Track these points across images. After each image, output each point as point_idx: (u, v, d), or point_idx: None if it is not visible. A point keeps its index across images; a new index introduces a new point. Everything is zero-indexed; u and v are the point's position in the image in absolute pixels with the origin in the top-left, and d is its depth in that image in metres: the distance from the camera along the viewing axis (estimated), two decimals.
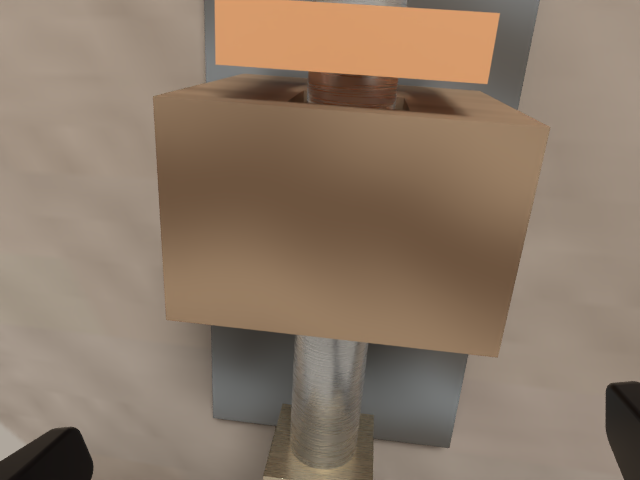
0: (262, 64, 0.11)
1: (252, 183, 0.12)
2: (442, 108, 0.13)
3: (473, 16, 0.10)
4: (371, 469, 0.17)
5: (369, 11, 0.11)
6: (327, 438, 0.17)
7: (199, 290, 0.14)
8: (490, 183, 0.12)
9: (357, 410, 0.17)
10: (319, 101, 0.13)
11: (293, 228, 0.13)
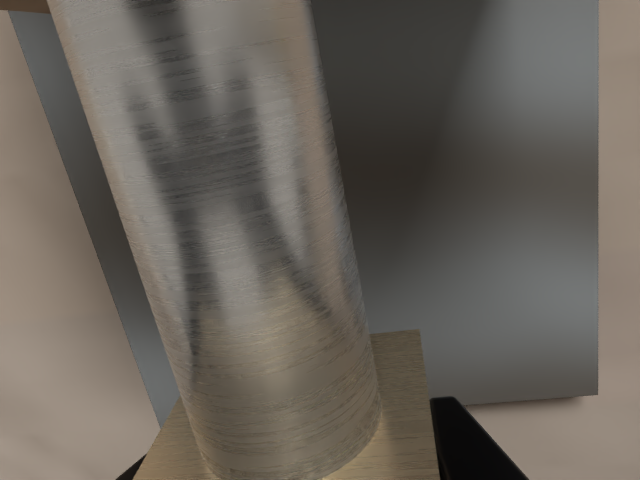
0: None
1: None
2: None
3: None
4: (432, 461, 0.05)
5: None
6: (260, 385, 0.05)
7: None
8: None
9: (341, 281, 0.05)
10: None
11: None
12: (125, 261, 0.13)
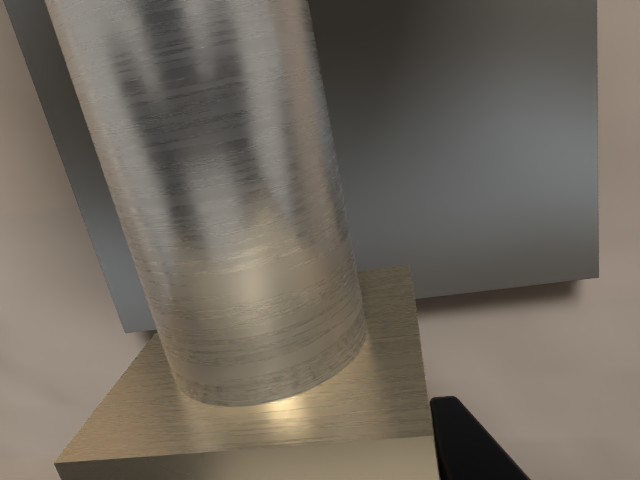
0: None
1: None
2: None
3: None
4: (419, 373, 0.05)
5: None
6: (231, 284, 0.05)
7: None
8: None
9: (319, 176, 0.05)
10: None
11: None
12: (80, 134, 0.12)
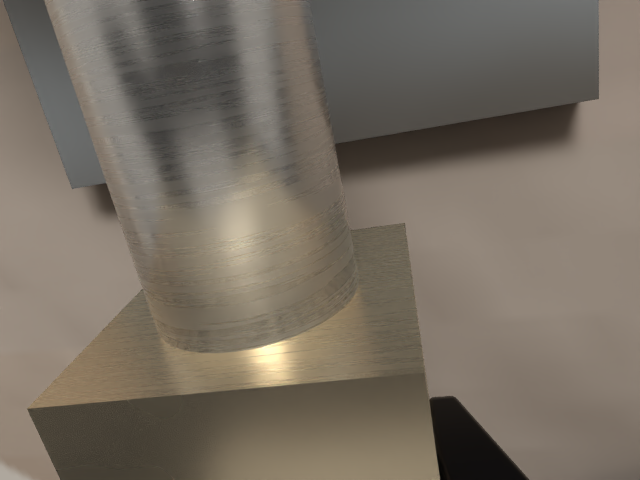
0: None
1: None
2: None
3: None
4: (412, 317, 0.05)
5: None
6: (214, 218, 0.04)
7: None
8: None
9: (306, 106, 0.05)
10: None
11: None
12: None
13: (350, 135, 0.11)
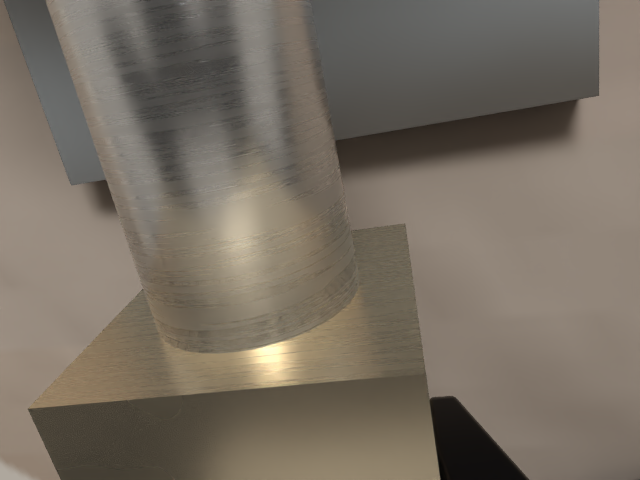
0: None
1: None
2: None
3: None
4: (412, 318, 0.05)
5: None
6: (214, 218, 0.04)
7: None
8: None
9: (307, 107, 0.05)
10: None
11: None
12: None
13: (350, 132, 0.11)
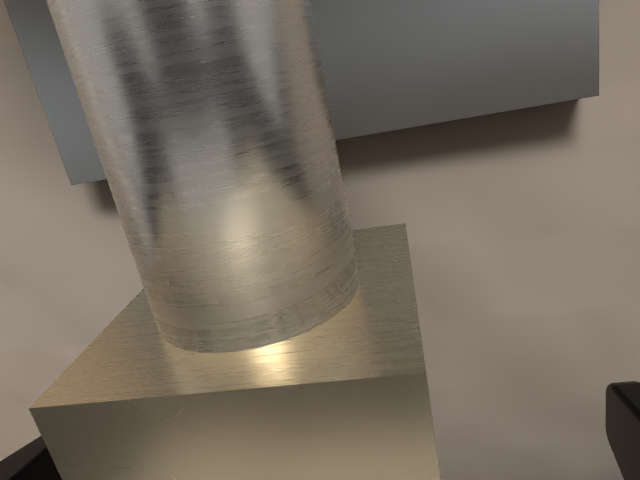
0: None
1: None
2: None
3: None
4: (413, 317, 0.05)
5: None
6: (215, 218, 0.04)
7: None
8: None
9: (308, 107, 0.05)
10: None
11: None
12: None
13: (350, 132, 0.11)
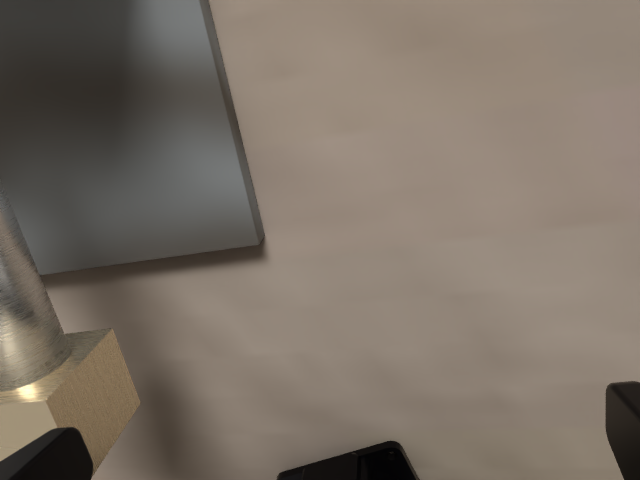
0: None
1: None
2: None
3: None
4: (62, 380, 0.14)
5: None
6: None
7: None
8: None
9: (22, 310, 0.14)
10: None
11: None
12: None
13: (136, 258, 0.20)
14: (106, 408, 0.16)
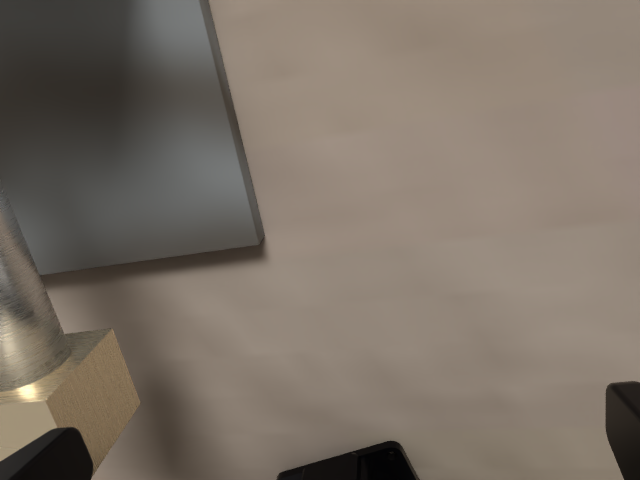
0: None
1: None
2: None
3: None
4: (62, 380, 0.14)
5: None
6: None
7: None
8: None
9: (21, 310, 0.14)
10: None
11: None
12: None
13: (136, 258, 0.20)
14: (106, 408, 0.16)
